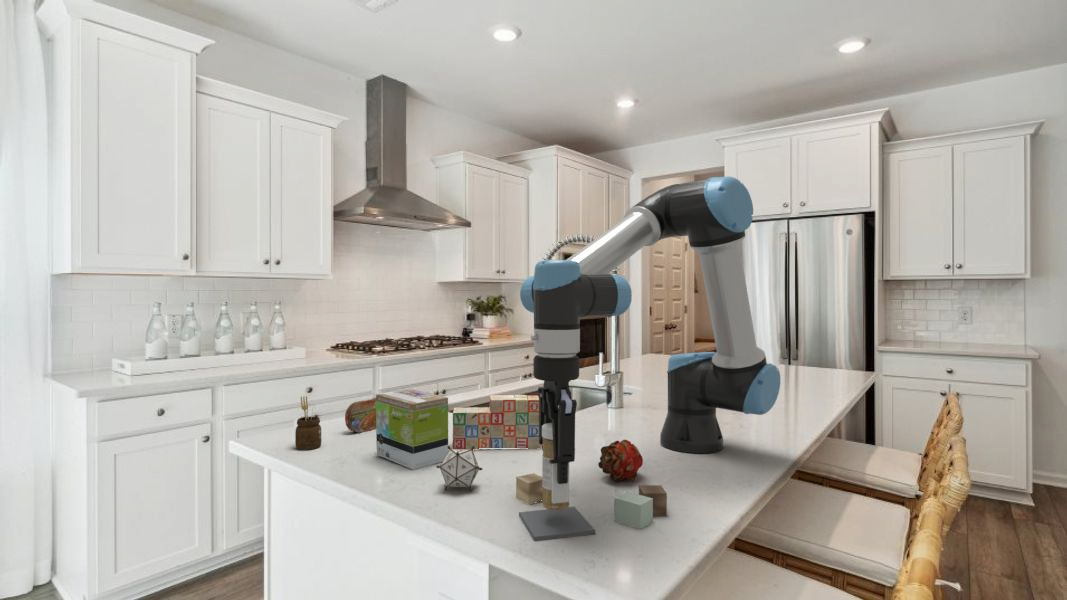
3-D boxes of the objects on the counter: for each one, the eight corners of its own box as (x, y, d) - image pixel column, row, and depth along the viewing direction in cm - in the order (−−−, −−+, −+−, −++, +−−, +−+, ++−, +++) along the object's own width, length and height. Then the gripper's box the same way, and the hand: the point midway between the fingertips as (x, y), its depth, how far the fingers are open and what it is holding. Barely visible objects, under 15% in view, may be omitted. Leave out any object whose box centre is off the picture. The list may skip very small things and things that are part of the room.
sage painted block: (626, 514, 98) (626, 491, 98) (652, 522, 94) (652, 498, 94) (614, 521, 95) (614, 497, 94) (640, 529, 91) (640, 505, 91)
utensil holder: (300, 452, 134) (300, 401, 134) (291, 446, 139) (291, 397, 138) (325, 447, 138) (325, 398, 138) (315, 442, 143) (315, 394, 142)
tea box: (374, 456, 130) (374, 393, 130) (411, 448, 138) (411, 387, 138) (412, 471, 120) (412, 402, 120) (449, 460, 128) (449, 395, 127)
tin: (350, 435, 149) (350, 404, 149) (342, 434, 151) (342, 402, 151) (393, 424, 162) (393, 395, 162) (385, 423, 164) (385, 394, 163)
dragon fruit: (607, 495, 111) (624, 485, 121) (643, 473, 108) (657, 465, 119) (585, 456, 114) (603, 449, 124) (619, 434, 111) (635, 430, 122)
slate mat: (574, 509, 99) (574, 506, 99) (595, 533, 89) (595, 529, 89) (519, 515, 96) (519, 512, 96) (534, 540, 87) (534, 536, 87)
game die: (462, 511, 108) (457, 480, 102) (431, 487, 112) (424, 456, 106) (493, 478, 114) (489, 447, 107) (462, 457, 118) (457, 426, 112)
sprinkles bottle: (567, 500, 95) (568, 421, 95) (570, 511, 91) (570, 428, 90) (540, 501, 95) (541, 421, 95) (542, 511, 90) (542, 428, 90)
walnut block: (661, 507, 101) (661, 485, 101) (666, 516, 97) (666, 493, 97) (638, 507, 101) (638, 485, 101) (643, 516, 97) (643, 493, 97)
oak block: (533, 494, 107) (533, 473, 107) (546, 500, 104) (546, 478, 104) (516, 498, 105) (516, 477, 105) (528, 505, 102) (528, 483, 101)
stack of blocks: (452, 451, 136) (452, 400, 135) (453, 444, 142) (453, 395, 142) (540, 449, 137) (540, 399, 137) (538, 442, 143) (538, 394, 143)
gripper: (521, 349, 100) (520, 480, 100) (549, 361, 83) (548, 519, 83) (561, 348, 102) (561, 477, 102) (597, 360, 85) (596, 514, 85)
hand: (555, 496), depth 93 cm, fingers closed on sprinkles bottle, 4 cm apart
